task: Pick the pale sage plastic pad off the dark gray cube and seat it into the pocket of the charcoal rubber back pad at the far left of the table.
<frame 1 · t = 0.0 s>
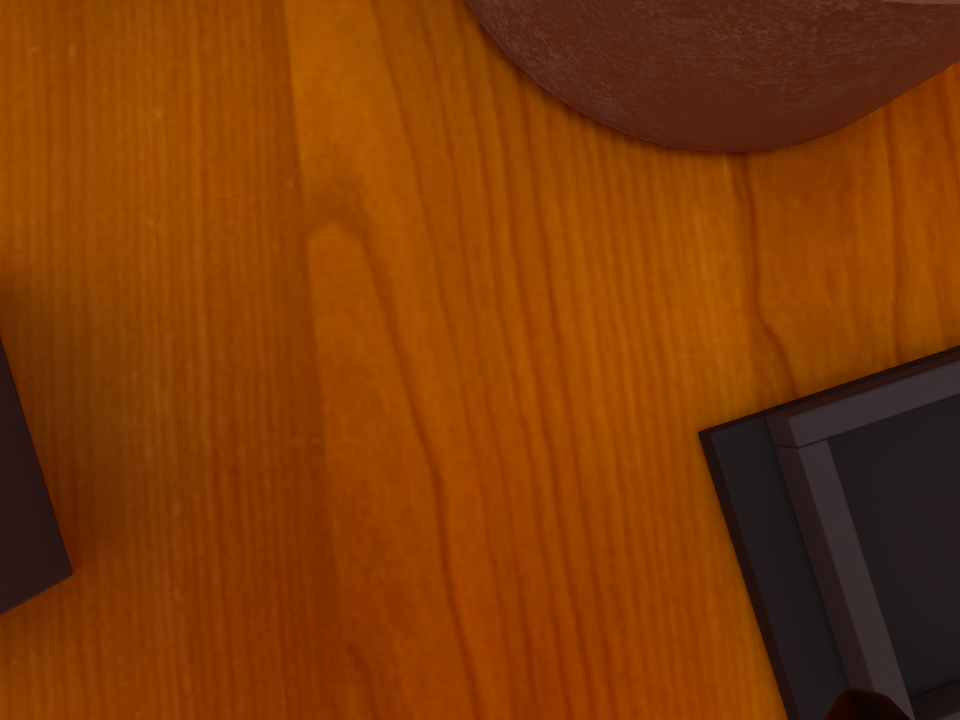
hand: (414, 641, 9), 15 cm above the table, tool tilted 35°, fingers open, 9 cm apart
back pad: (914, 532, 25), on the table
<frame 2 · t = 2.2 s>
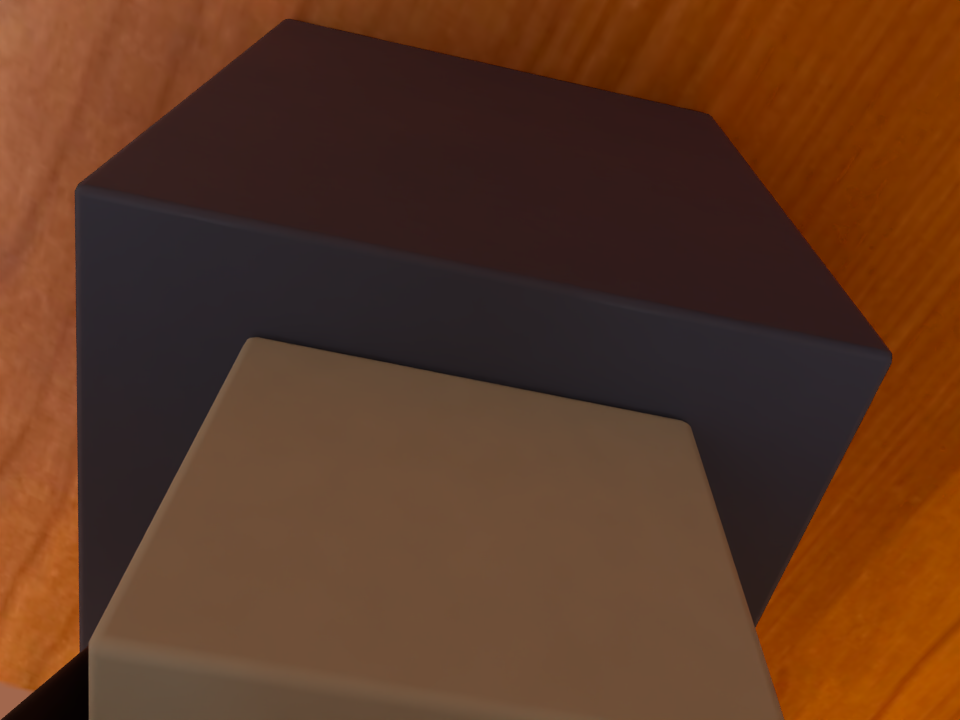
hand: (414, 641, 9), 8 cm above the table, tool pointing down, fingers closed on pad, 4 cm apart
pad: (414, 616, 9), point 8 cm above the table, touching gripper, dark gray cube
dark gray cube: (453, 288, 16), on the table
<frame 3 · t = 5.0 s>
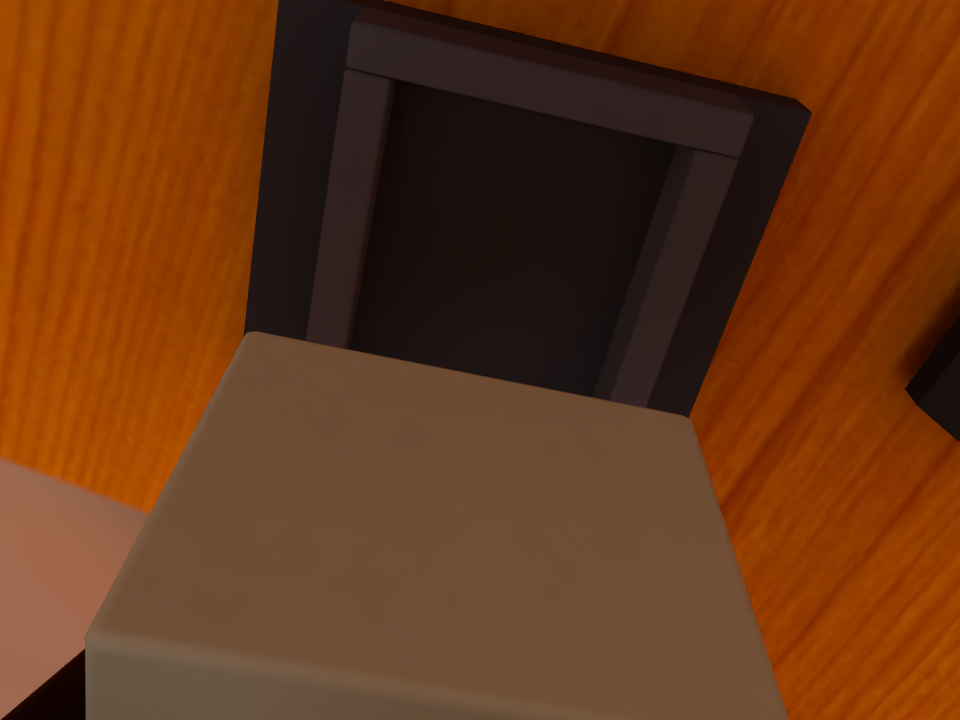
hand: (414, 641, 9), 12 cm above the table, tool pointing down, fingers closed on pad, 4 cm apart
pad: (414, 612, 9), point 11 cm above the table, touching gripper
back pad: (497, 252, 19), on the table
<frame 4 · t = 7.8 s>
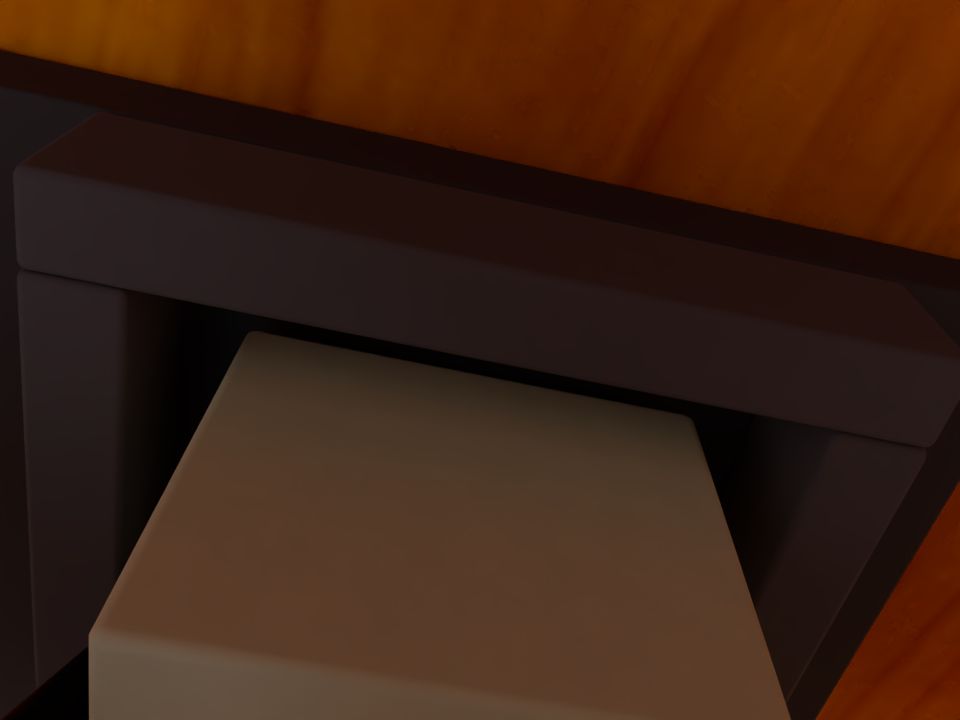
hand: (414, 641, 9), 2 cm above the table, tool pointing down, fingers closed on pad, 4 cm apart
pad: (416, 612, 9), point 1 cm above the table, touching gripper
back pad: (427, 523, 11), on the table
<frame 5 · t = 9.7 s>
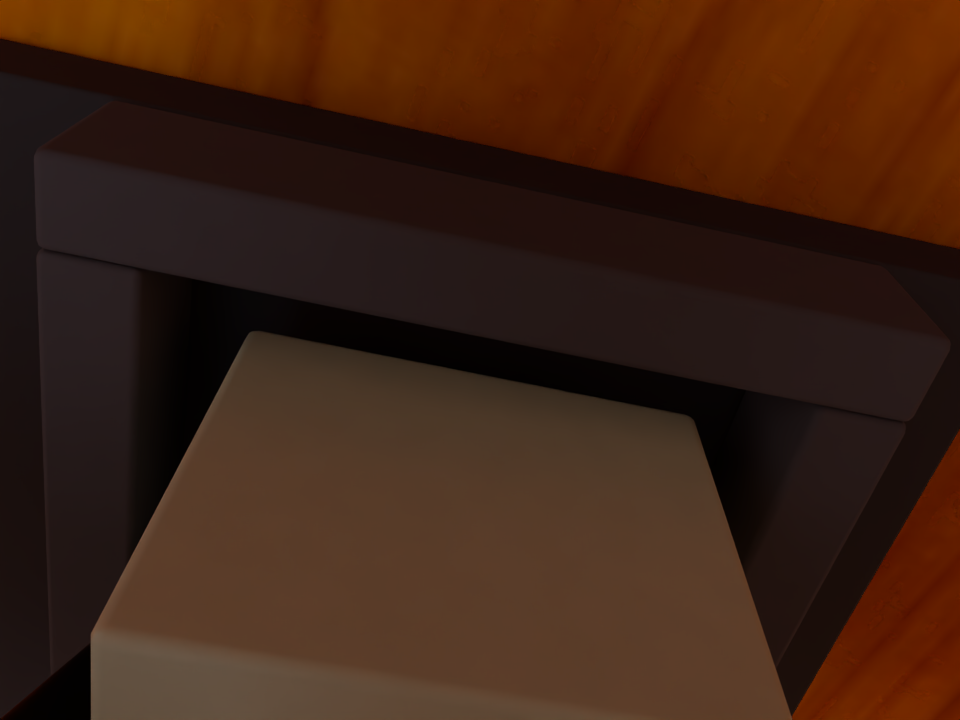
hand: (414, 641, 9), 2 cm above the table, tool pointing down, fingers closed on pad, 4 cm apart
pad: (417, 611, 9), point 2 cm above the table, touching gripper
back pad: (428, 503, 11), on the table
when the fingers open (3 cm above the table, at t = 11.5 s): pad drops 1 cm, resting on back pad.
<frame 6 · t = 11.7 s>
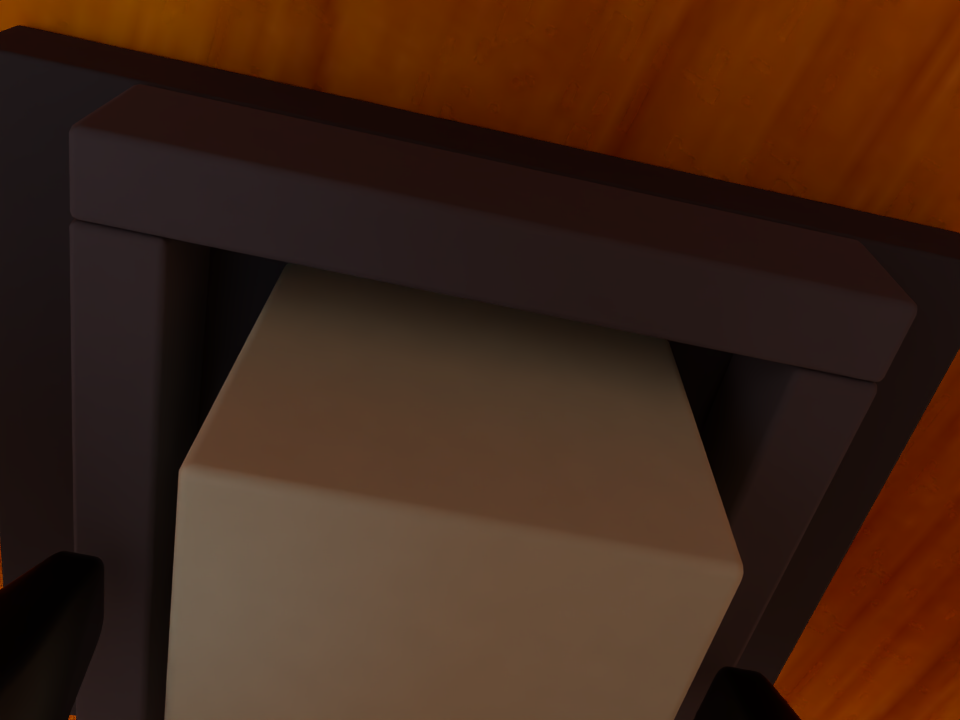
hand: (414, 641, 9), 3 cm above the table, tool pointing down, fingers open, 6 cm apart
pad: (428, 520, 11), point 1 cm above the table, touching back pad
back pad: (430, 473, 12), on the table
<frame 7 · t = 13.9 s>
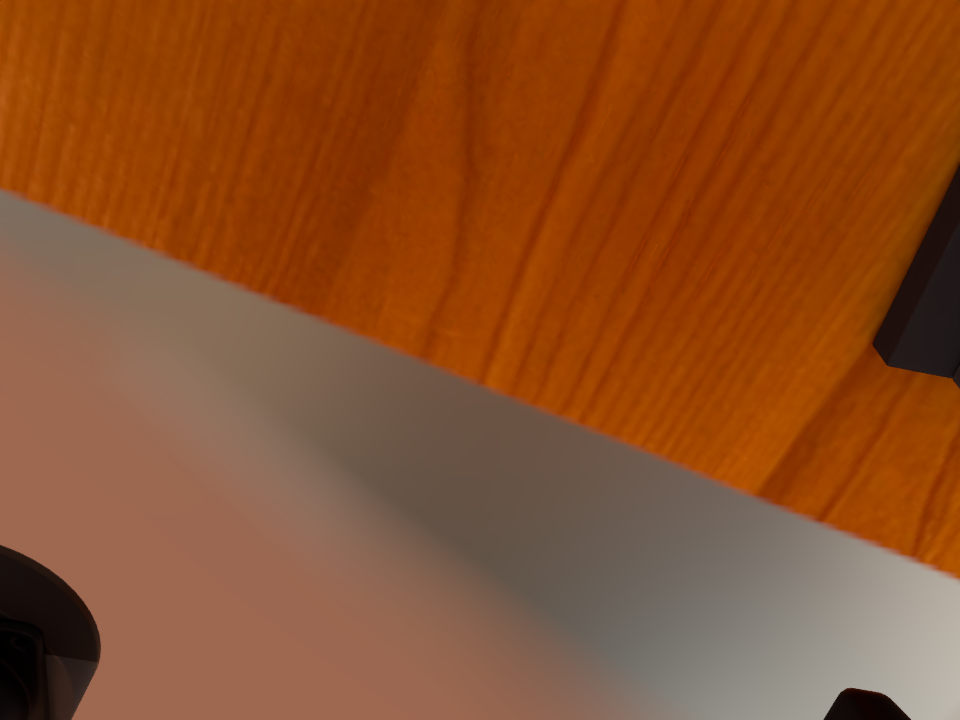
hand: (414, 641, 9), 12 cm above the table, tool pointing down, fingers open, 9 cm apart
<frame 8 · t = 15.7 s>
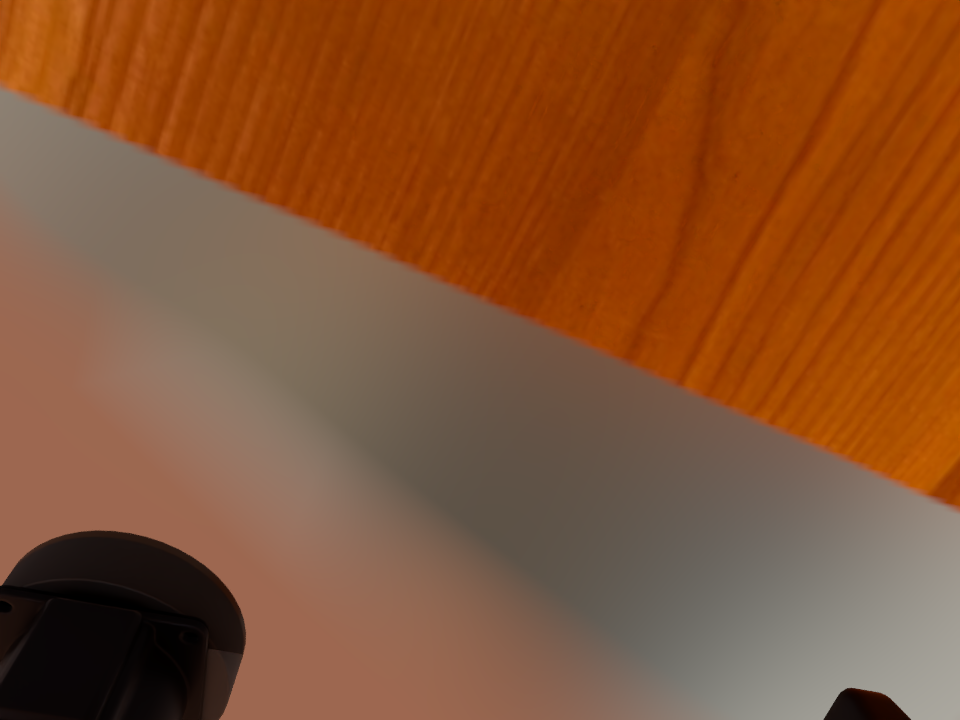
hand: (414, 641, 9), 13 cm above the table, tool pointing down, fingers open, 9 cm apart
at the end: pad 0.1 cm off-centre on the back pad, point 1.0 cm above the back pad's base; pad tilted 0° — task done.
